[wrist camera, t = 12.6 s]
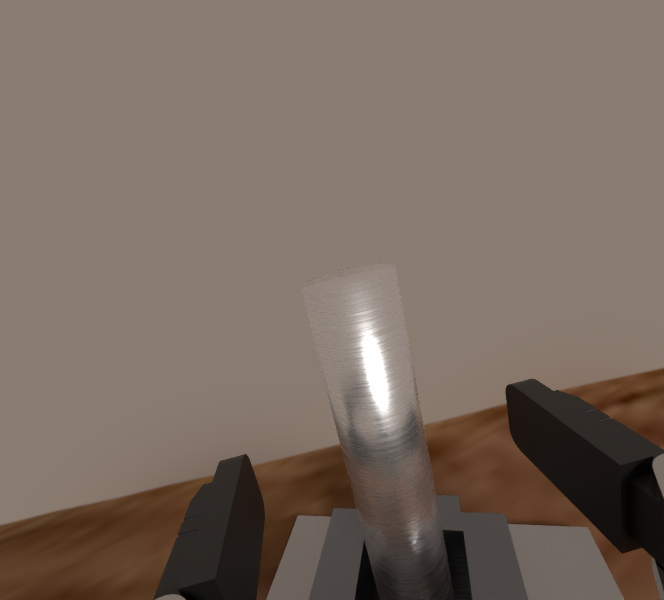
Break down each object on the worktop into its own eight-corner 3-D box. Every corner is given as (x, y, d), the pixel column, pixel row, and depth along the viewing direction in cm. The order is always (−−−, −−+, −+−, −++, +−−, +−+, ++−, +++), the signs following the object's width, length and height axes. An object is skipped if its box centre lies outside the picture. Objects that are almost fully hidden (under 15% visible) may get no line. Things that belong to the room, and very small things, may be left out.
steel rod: (392, 696, 13) (286, 296, 9) (396, 611, 15) (316, 274, 12) (470, 711, 12) (391, 279, 8) (461, 619, 15) (398, 259, 11)
